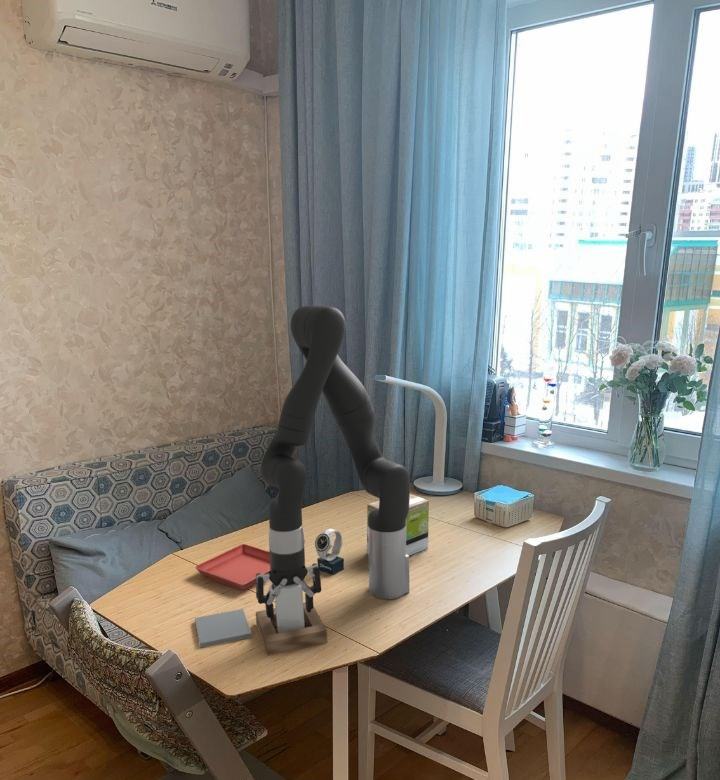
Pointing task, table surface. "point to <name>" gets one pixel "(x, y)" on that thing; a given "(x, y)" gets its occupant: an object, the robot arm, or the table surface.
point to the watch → (327, 560)
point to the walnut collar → (291, 632)
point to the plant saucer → (237, 566)
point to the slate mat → (222, 628)
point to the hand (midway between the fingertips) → (289, 614)
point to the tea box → (412, 524)
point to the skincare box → (289, 608)
